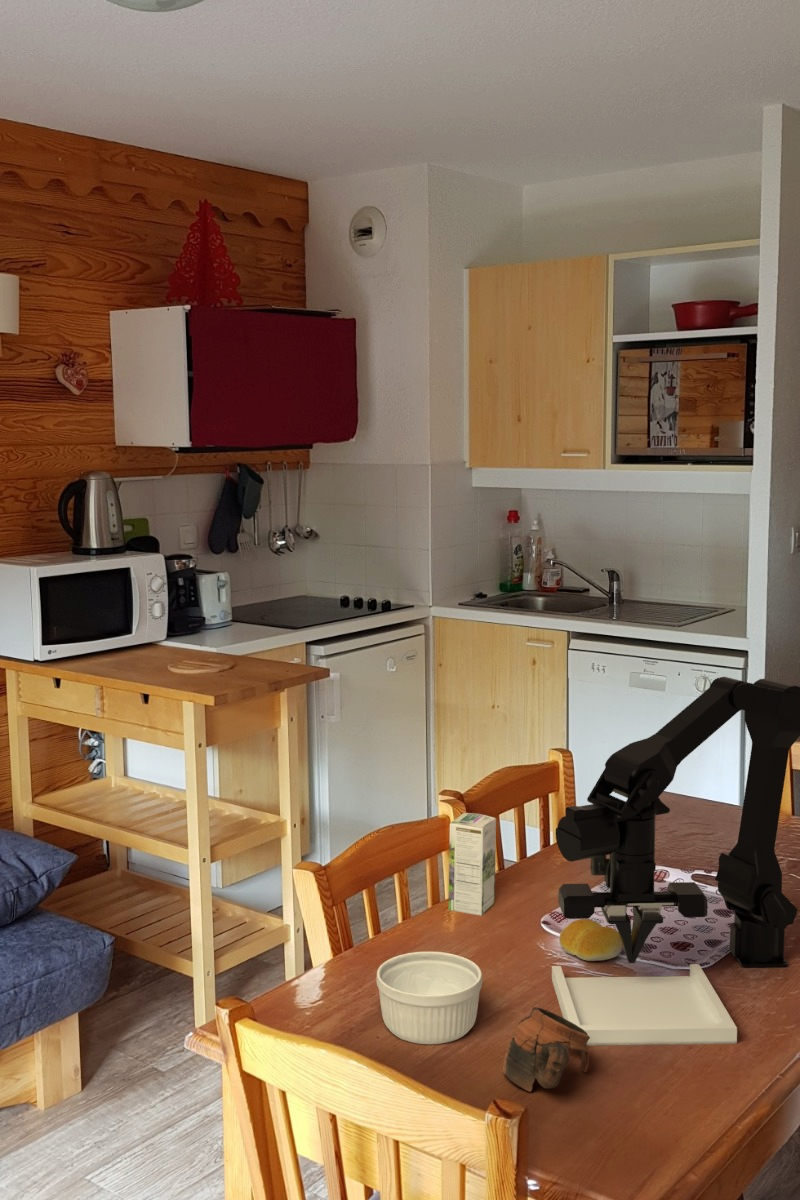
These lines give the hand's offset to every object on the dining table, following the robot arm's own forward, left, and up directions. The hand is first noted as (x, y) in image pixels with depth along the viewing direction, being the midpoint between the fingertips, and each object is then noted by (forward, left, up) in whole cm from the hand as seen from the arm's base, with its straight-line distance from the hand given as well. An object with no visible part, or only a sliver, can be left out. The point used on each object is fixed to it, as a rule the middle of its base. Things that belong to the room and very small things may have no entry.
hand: (630, 961), depth 159 cm
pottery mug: (+15, +23, -5) cm, 29 cm away
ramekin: (+27, +9, -4) cm, 29 cm away
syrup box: (+19, -29, -4) cm, 35 cm away
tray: (0, +6, -4) cm, 7 cm away
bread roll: (0, -11, -4) cm, 12 cm away
